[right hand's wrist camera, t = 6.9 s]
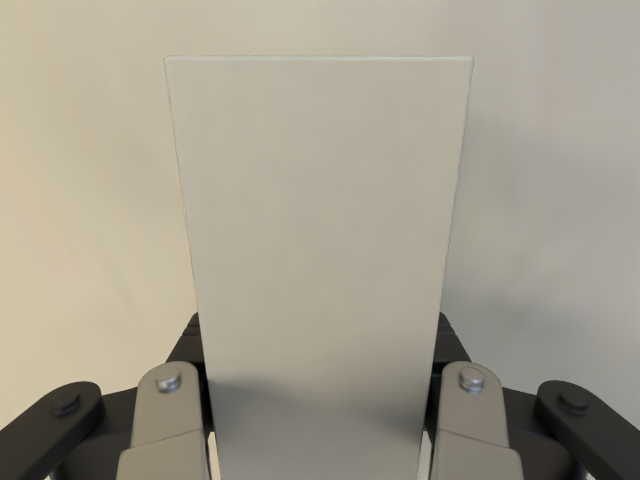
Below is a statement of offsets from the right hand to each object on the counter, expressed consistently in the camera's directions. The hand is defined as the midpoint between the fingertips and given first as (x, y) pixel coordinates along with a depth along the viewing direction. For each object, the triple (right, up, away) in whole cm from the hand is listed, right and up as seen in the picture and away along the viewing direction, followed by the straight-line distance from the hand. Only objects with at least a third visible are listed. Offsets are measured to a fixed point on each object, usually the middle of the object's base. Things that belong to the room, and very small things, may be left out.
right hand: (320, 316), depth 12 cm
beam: (0, -24, +11) cm, 27 cm away
